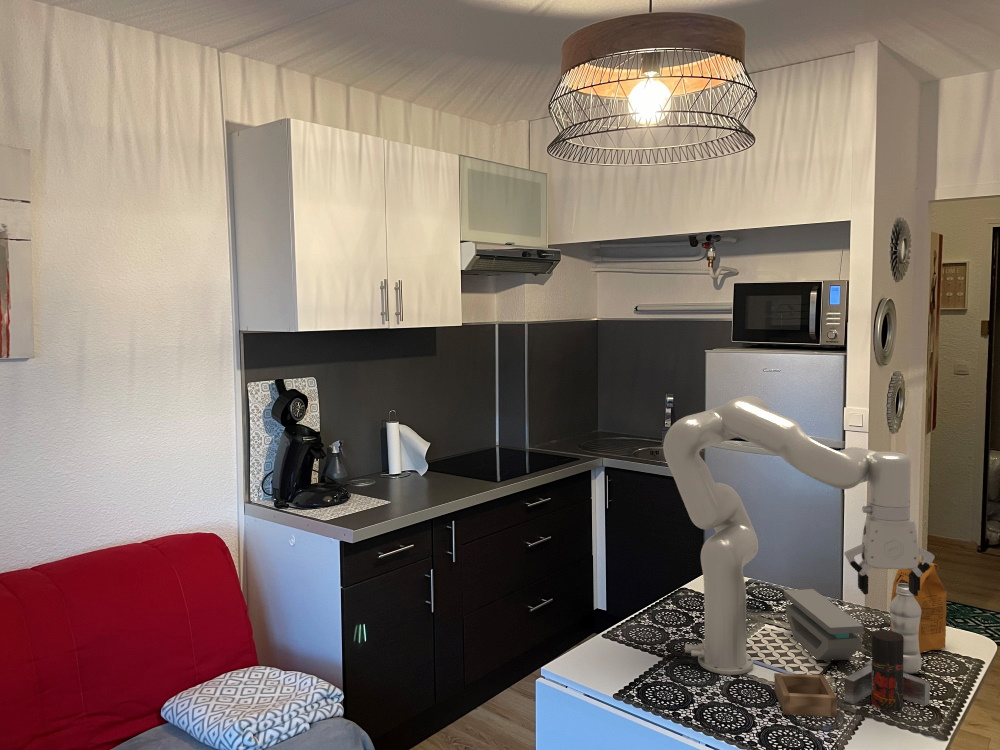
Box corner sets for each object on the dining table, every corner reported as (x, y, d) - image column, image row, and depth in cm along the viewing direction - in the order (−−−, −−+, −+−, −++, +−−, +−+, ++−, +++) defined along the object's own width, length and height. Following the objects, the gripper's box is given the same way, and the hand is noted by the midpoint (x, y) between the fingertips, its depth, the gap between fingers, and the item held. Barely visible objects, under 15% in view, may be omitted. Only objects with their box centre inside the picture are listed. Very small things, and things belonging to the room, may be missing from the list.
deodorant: (865, 699, 170) (866, 630, 168) (892, 697, 170) (893, 629, 169) (881, 712, 164) (882, 642, 163) (909, 710, 164) (909, 640, 163)
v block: (846, 704, 168) (846, 681, 167) (831, 679, 179) (832, 658, 178) (932, 708, 165) (932, 684, 165) (912, 682, 176) (912, 661, 176)
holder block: (783, 714, 164) (783, 695, 164) (774, 690, 174) (774, 673, 174) (836, 716, 162) (836, 697, 162) (824, 692, 173) (824, 675, 172)
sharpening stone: (863, 672, 182) (863, 626, 181) (830, 674, 182) (830, 627, 181) (812, 629, 207) (813, 589, 206) (783, 631, 207) (783, 590, 206)
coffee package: (919, 632, 203) (920, 548, 202) (952, 652, 191) (953, 563, 189) (883, 635, 202) (883, 550, 201) (913, 655, 190) (914, 565, 188)
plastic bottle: (925, 678, 178) (926, 591, 177) (893, 676, 180) (893, 590, 178) (916, 665, 185) (917, 581, 183) (885, 664, 186) (886, 580, 185)
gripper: (850, 516, 161) (849, 598, 163) (941, 517, 159) (940, 600, 160) (840, 507, 169) (839, 585, 170) (927, 508, 166) (926, 588, 167)
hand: (888, 592), depth 165 cm, fingers open, 9 cm apart
